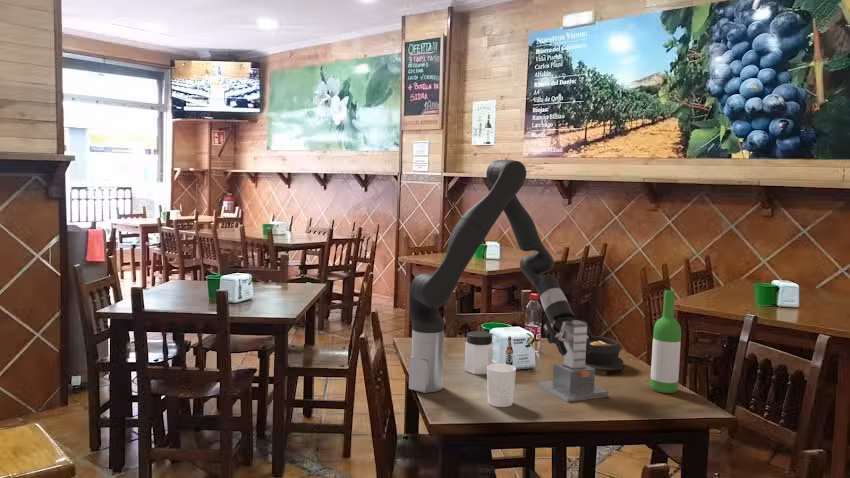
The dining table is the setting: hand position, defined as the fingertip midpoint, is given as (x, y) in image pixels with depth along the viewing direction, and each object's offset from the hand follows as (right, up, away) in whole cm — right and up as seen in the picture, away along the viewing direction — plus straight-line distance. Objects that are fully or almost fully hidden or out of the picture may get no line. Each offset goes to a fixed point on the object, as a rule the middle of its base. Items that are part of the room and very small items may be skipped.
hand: (577, 353), depth 183 cm
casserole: (+13, -10, +32) cm, 36 cm away
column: (-1, -10, +2) cm, 10 cm away
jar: (-27, -10, +21) cm, 35 cm away
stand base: (-1, -12, +2) cm, 12 cm away
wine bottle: (+27, -12, +6) cm, 30 cm away
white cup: (-23, -12, -10) cm, 28 cm away
